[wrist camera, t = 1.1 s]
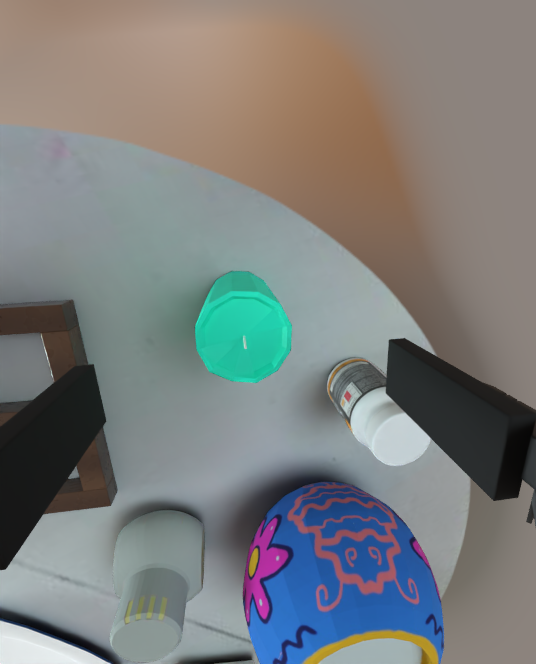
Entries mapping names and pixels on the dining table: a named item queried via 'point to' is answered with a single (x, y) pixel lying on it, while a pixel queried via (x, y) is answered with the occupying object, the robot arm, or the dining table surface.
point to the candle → (242, 329)
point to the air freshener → (155, 582)
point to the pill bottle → (375, 413)
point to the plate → (40, 647)
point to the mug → (239, 662)
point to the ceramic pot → (340, 583)
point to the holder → (62, 356)
